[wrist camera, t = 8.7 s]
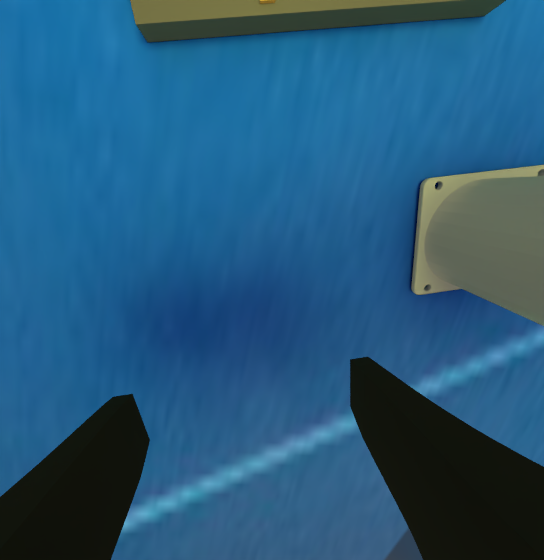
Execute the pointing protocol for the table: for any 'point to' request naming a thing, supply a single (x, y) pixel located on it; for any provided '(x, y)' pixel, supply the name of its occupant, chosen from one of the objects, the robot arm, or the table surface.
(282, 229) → the table surface
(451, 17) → the console
